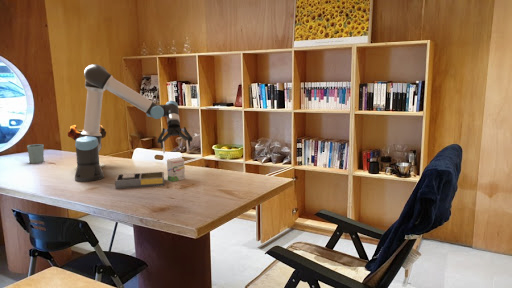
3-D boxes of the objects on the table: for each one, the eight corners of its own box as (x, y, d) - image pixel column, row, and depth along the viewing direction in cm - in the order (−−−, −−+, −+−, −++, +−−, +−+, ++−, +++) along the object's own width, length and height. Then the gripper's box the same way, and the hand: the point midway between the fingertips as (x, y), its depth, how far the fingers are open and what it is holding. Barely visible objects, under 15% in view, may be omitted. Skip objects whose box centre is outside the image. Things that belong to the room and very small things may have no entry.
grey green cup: (40, 160, 278) (39, 143, 277) (48, 162, 273) (46, 145, 271) (25, 162, 270) (24, 145, 268) (32, 164, 264) (31, 147, 263)
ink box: (172, 181, 216) (171, 160, 214) (167, 180, 219) (166, 159, 217) (185, 178, 222) (184, 158, 220) (180, 177, 225) (179, 157, 223)
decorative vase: (114, 166, 254) (108, 123, 249) (75, 173, 241) (69, 128, 236) (106, 161, 271) (100, 121, 266) (69, 167, 258) (63, 125, 253)
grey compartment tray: (115, 189, 201) (115, 179, 200) (118, 182, 215) (117, 173, 214) (164, 185, 207) (164, 176, 206) (163, 179, 221) (163, 170, 220)
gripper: (193, 125, 246) (197, 153, 234) (152, 127, 240) (154, 156, 228) (194, 118, 240) (198, 146, 228) (152, 119, 234) (153, 148, 222)
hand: (176, 151), depth 228 cm, fingers open, 13 cm apart
